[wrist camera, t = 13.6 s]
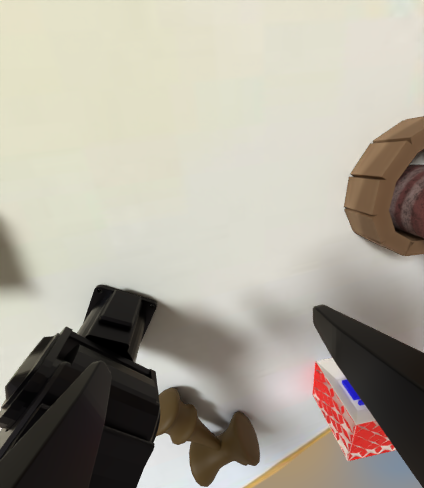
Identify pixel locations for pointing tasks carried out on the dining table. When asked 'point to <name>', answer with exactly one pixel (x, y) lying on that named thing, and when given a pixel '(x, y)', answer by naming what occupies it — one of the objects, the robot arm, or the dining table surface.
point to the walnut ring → (384, 187)
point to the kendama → (207, 438)
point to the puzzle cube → (347, 413)
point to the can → (409, 201)
